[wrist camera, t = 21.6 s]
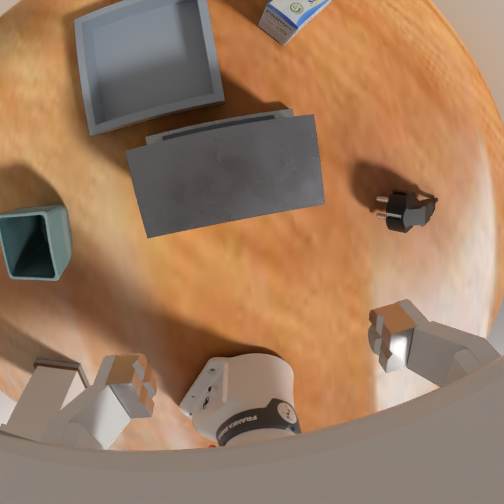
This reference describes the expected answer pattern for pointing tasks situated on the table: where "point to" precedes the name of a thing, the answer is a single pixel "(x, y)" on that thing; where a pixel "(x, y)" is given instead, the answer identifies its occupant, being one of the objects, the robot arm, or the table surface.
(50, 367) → the grey tall box
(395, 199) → the power plug
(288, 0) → the medicine box
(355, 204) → the table surface
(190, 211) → the box
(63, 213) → the flower pot
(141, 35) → the tray
